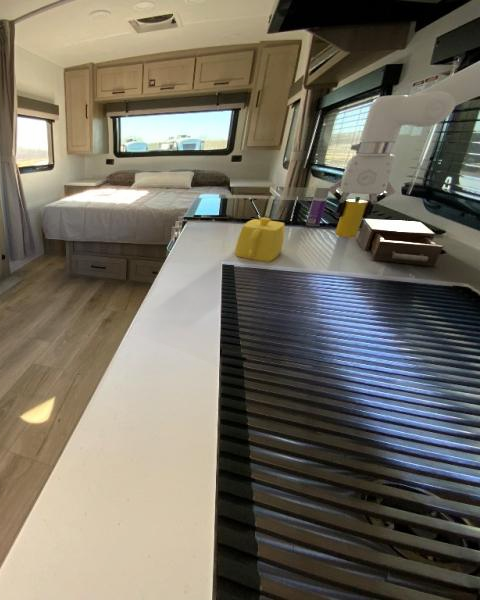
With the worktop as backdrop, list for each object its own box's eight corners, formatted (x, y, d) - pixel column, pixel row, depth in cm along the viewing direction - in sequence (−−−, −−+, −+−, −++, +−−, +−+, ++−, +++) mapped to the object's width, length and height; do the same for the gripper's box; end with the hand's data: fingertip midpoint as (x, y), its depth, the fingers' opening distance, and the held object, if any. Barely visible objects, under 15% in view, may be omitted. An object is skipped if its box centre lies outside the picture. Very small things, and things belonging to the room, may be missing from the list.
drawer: (438, 271, 89) (449, 251, 86) (375, 264, 95) (383, 245, 93) (419, 251, 103) (427, 233, 100) (365, 246, 109) (371, 229, 106)
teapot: (248, 242, 120) (255, 209, 115) (286, 248, 113) (295, 213, 107) (228, 257, 107) (234, 221, 102) (270, 265, 100) (279, 227, 94)
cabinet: (424, 258, 100) (435, 233, 97) (363, 252, 107) (372, 229, 103) (410, 244, 111) (420, 222, 108) (356, 239, 118) (364, 218, 115)
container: (321, 226, 135) (333, 187, 128) (310, 226, 135) (320, 188, 129) (314, 223, 139) (325, 186, 133) (303, 223, 140) (313, 186, 133)
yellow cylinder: (354, 233, 100) (368, 195, 95) (357, 238, 96) (371, 198, 91) (334, 231, 103) (346, 194, 98) (335, 236, 99) (348, 197, 94)
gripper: (337, 150, 90) (317, 217, 98) (421, 149, 82) (392, 222, 90) (334, 148, 96) (316, 211, 104) (412, 147, 88) (386, 216, 96)
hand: (351, 216), depth 97 cm, fingers closed on yellow cylinder, 5 cm apart
